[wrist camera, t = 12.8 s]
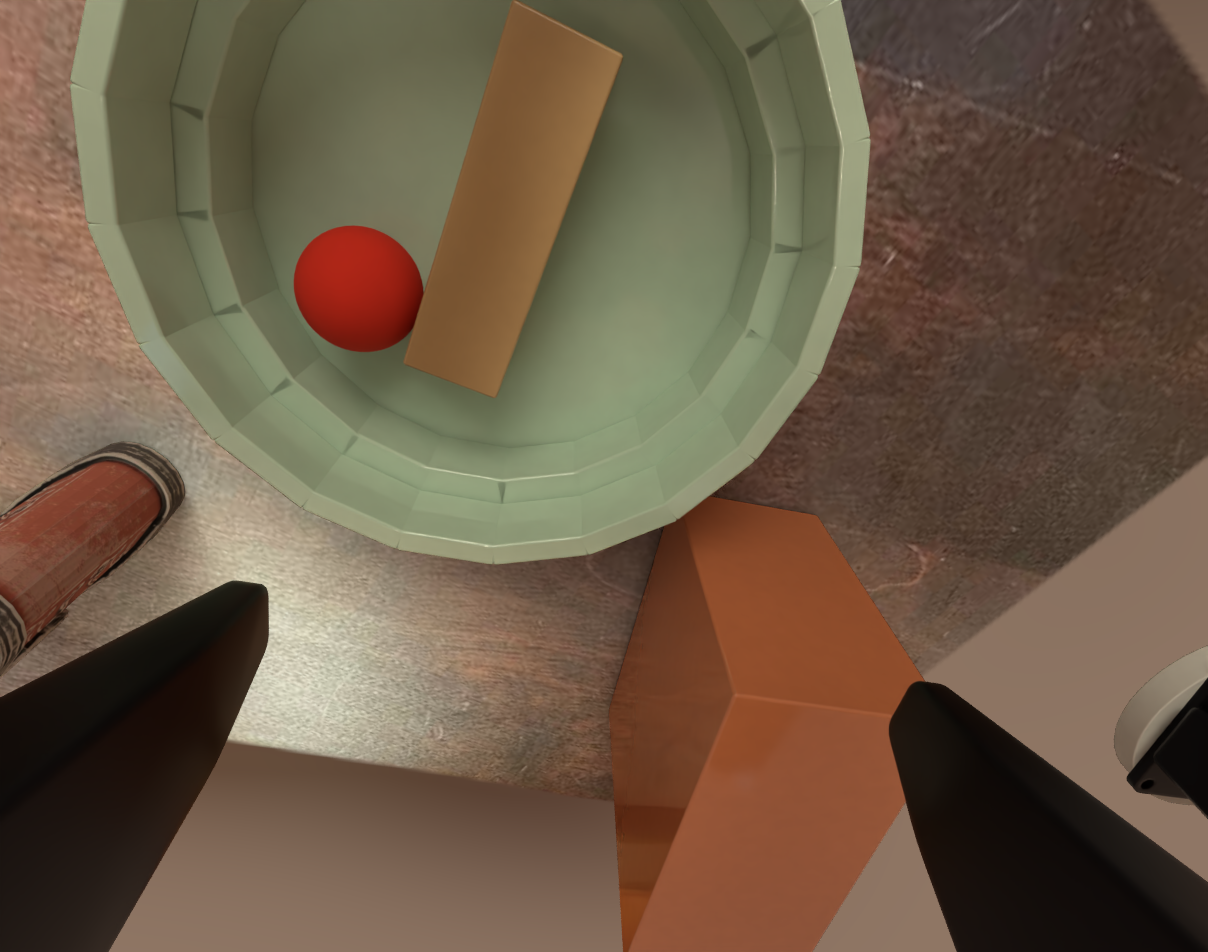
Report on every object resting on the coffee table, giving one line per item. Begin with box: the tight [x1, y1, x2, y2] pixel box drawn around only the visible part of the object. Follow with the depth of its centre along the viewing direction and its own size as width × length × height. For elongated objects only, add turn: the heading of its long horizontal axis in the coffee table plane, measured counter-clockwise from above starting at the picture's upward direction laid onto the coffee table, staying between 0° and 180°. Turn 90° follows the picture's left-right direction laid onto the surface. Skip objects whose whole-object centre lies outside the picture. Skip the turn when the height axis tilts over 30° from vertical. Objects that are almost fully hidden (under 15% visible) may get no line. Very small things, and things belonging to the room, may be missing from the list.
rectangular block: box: [609, 496, 925, 952], centre depth 20 cm, size 5×10×9 cm, turn 168°
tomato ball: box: [294, 225, 424, 352], centre depth 16 cm, size 3×3×3 cm
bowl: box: [70, 0, 870, 565], centre depth 15 cm, size 15×15×5 cm
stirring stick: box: [403, 0, 623, 398], centre depth 16 cm, size 2×8×3 cm, turn 157°
